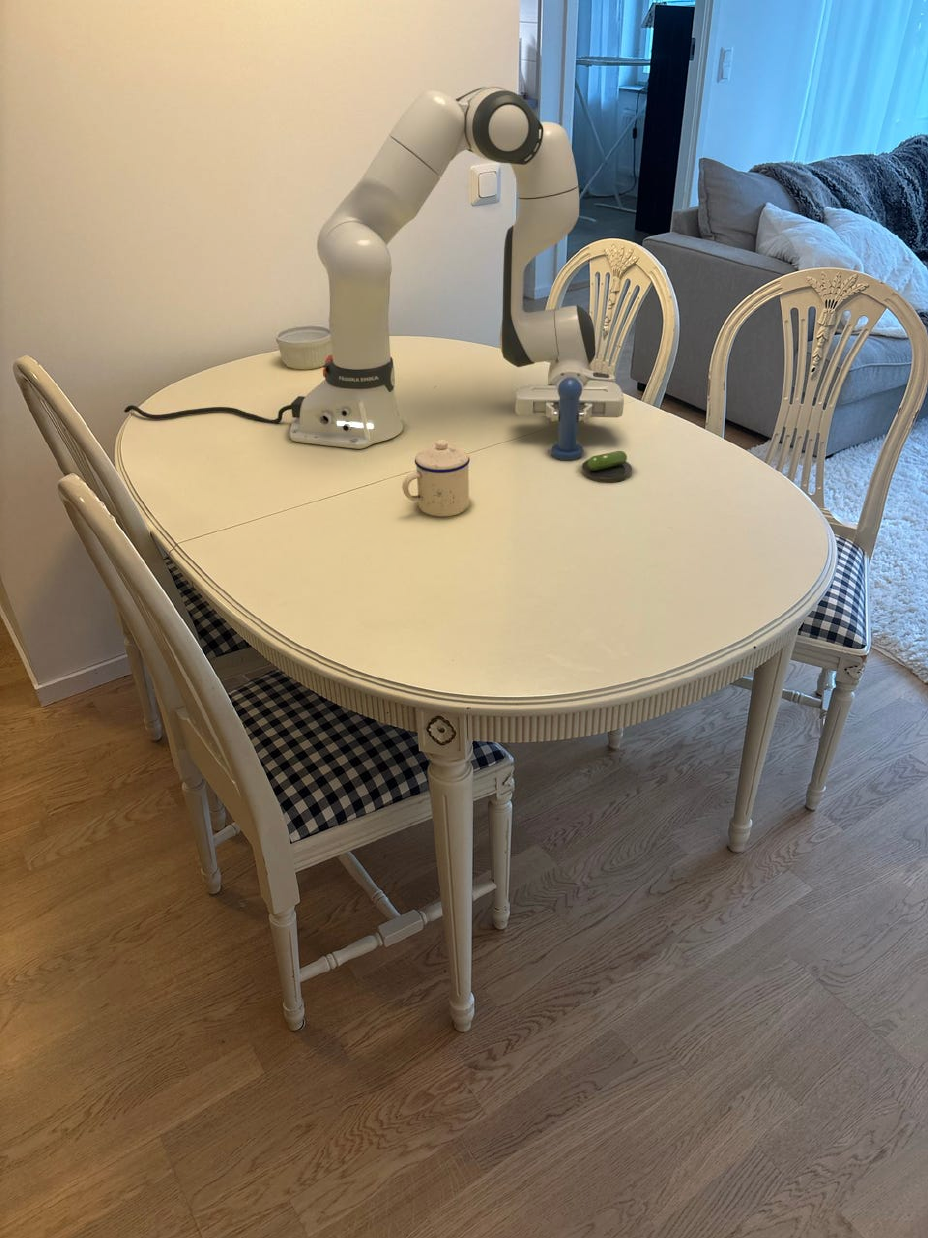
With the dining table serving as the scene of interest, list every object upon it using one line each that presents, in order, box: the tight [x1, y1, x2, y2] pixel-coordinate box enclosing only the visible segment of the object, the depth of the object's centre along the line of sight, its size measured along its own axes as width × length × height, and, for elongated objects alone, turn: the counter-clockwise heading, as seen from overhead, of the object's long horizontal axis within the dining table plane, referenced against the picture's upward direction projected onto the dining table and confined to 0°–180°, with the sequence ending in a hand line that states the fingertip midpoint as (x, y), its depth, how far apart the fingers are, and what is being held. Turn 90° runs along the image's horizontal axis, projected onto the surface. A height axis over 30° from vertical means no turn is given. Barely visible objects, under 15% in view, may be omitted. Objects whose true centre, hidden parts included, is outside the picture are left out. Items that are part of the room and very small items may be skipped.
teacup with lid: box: [402, 439, 471, 517], centre depth 151 cm, size 12×9×12 cm
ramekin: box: [275, 324, 332, 371], centre depth 215 cm, size 13×13×7 cm
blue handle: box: [550, 377, 584, 462], centre depth 167 cm, size 6×6×15 cm
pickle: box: [581, 450, 633, 483], centre depth 164 cm, size 9×9×3 cm
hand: (568, 417), depth 167 cm, fingers closed on blue handle, 3 cm apart
